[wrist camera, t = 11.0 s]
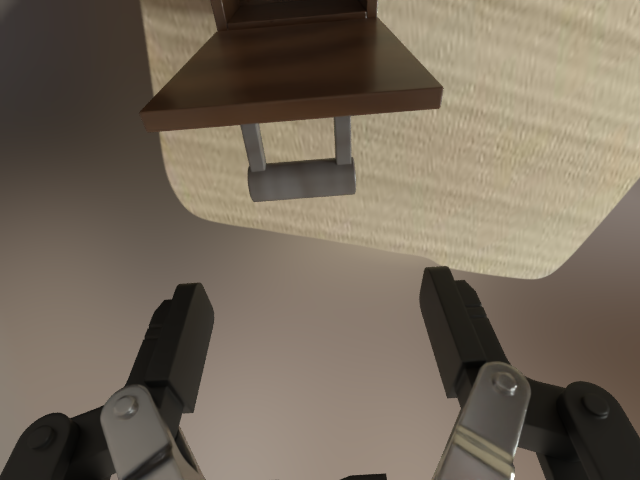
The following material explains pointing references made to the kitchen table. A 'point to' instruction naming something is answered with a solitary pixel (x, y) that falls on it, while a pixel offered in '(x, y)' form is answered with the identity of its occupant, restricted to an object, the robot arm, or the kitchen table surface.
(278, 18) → the box
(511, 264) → the kitchen table surface
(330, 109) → the lid
